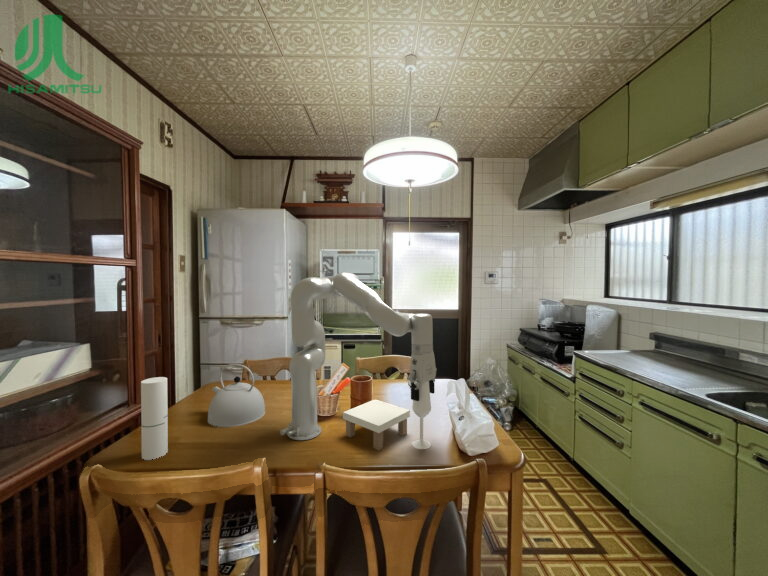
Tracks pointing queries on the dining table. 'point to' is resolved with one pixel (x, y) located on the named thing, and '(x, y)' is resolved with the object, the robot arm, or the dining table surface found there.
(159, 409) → the cylindrical container
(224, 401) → the kettle
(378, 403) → the footstool
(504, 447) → the dining table surface
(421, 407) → the champagne flute
